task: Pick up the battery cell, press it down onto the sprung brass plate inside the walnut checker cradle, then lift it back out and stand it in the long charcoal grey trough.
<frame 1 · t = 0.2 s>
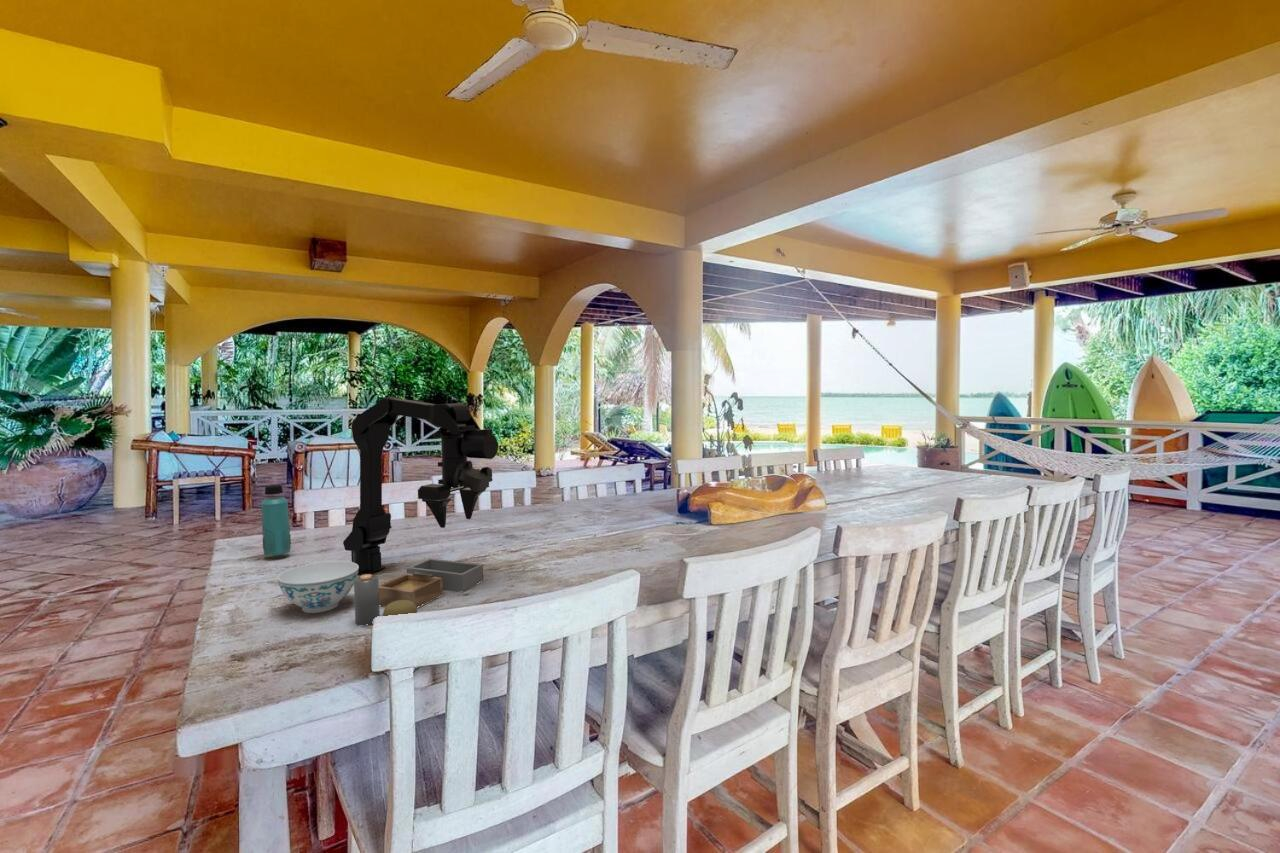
hand: (456, 523, 136), 15 cm above the table, tool pointing down, fingers open, 9 cm apart
cork: (401, 668, 96), on the table
battery cell: (367, 621, 115), on the table
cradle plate: (409, 589, 126), point 2 cm above the table, slide at 0.0 cm
checker cradle: (410, 600, 126), on the table
beverage bottle: (277, 558, 158), on the table
chinaware: (320, 607, 123), on the table
trough: (445, 582, 138), on the table
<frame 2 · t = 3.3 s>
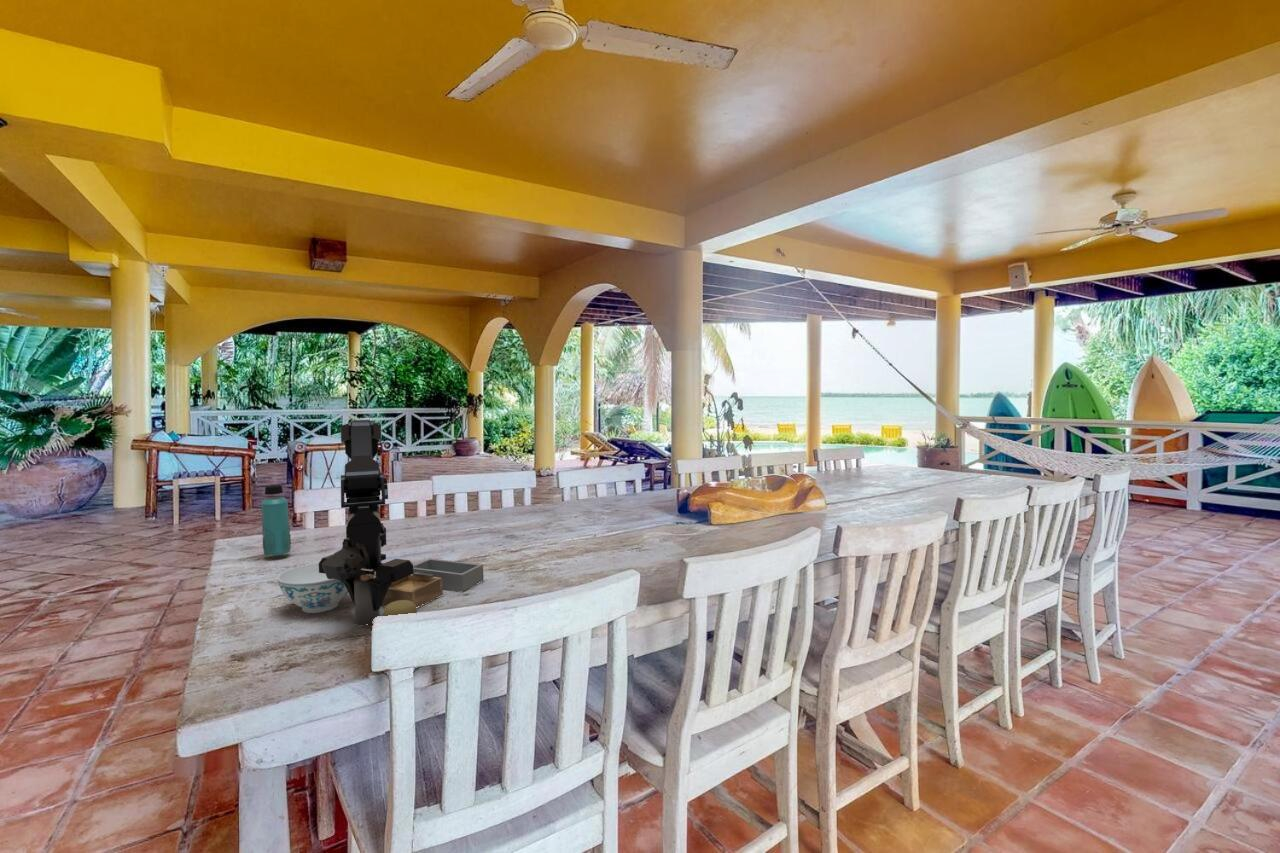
hand: (367, 608, 115), 3 cm above the table, tool pointing down, fingers closed on battery cell, 4 cm apart
battery cell: (367, 621, 115), on the table, touching gripper
everything else where it was.
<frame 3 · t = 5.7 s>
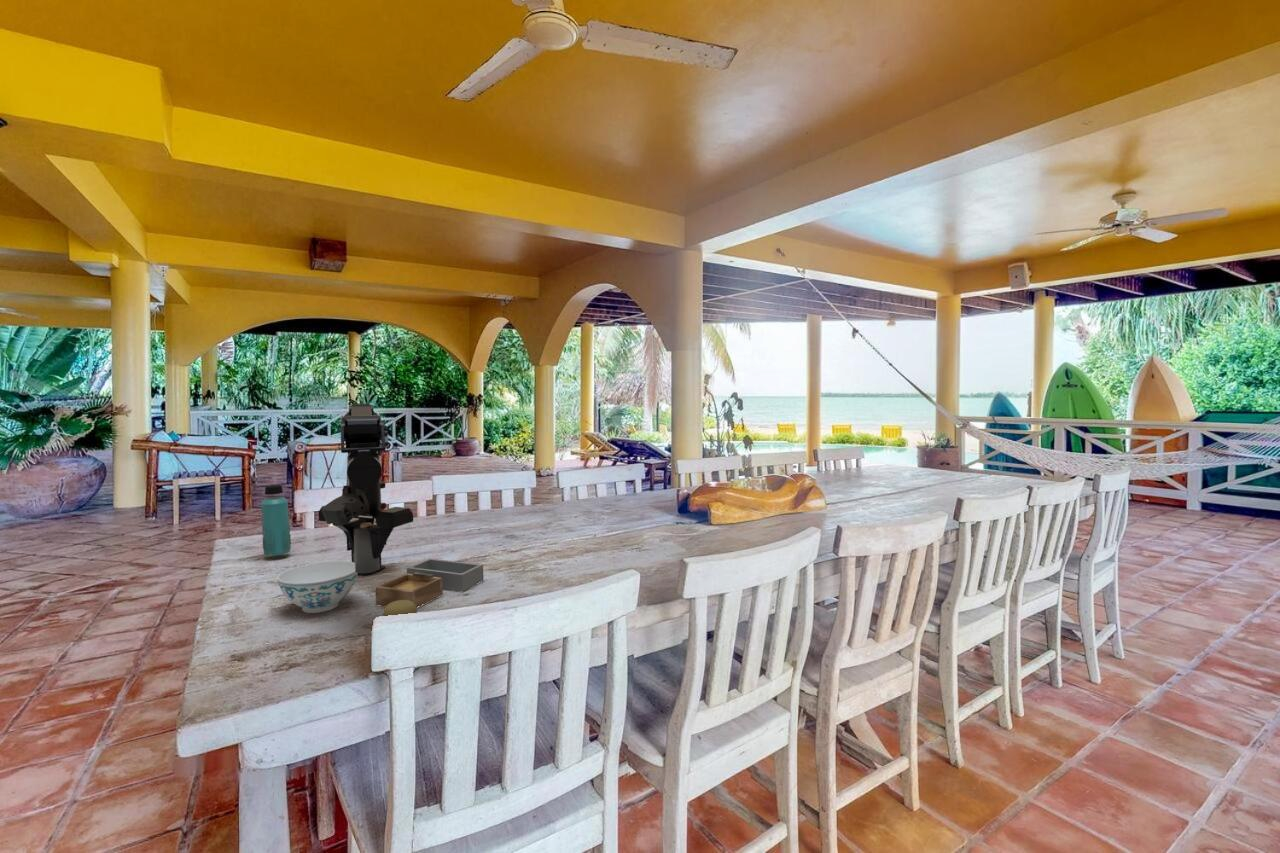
hand: (367, 557, 115), 13 cm above the table, tool pointing down, fingers closed on battery cell, 4 cm apart
battery cell: (367, 569, 115), point 10 cm above the table, touching gripper
everything else where it was.
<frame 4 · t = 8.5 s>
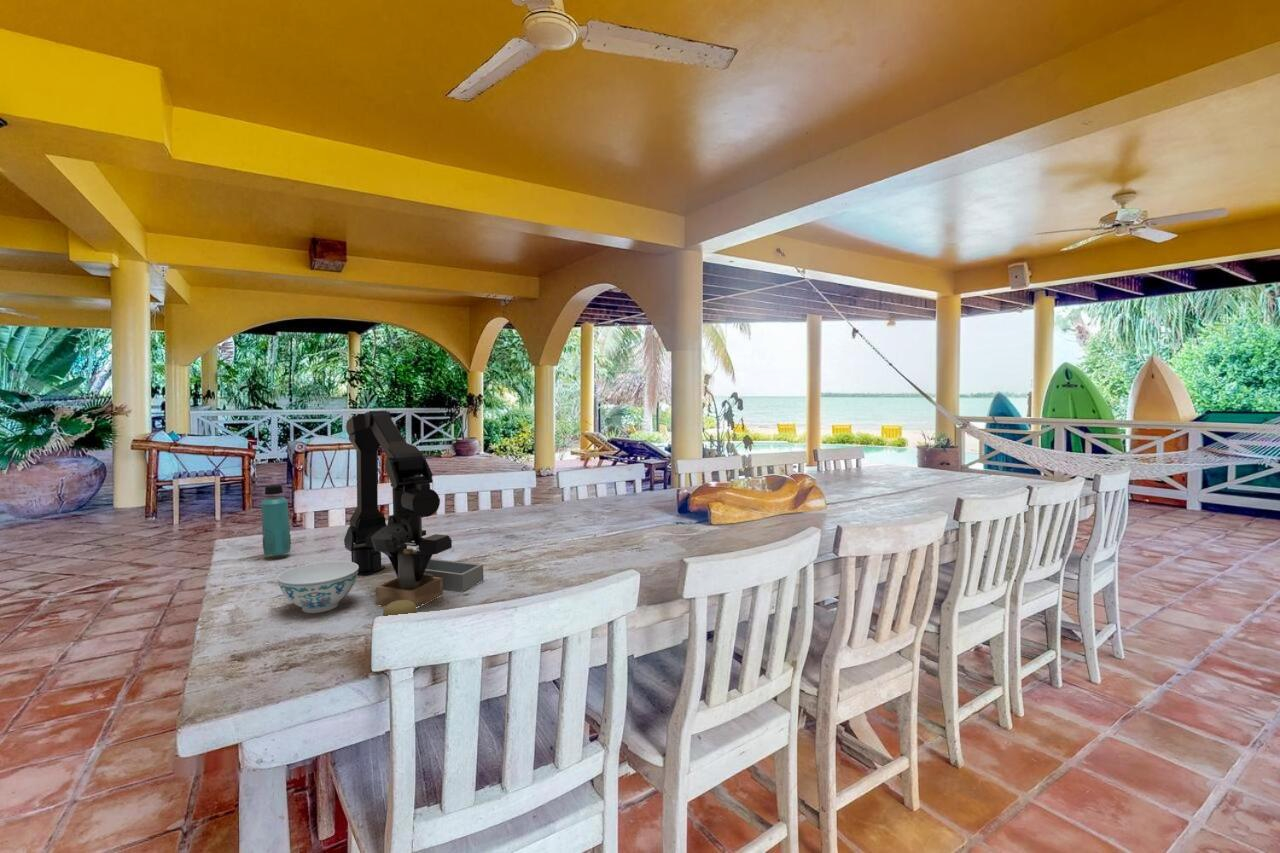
hand: (409, 579, 126), 5 cm above the table, tool pointing down, fingers closed on battery cell, 4 cm apart
battery cell: (409, 591, 126), point 2 cm above the table, touching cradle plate, gripper
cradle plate: (410, 593, 126), point 1 cm above the table, slide at -1.0 cm, touching battery cell
everything else where it was.
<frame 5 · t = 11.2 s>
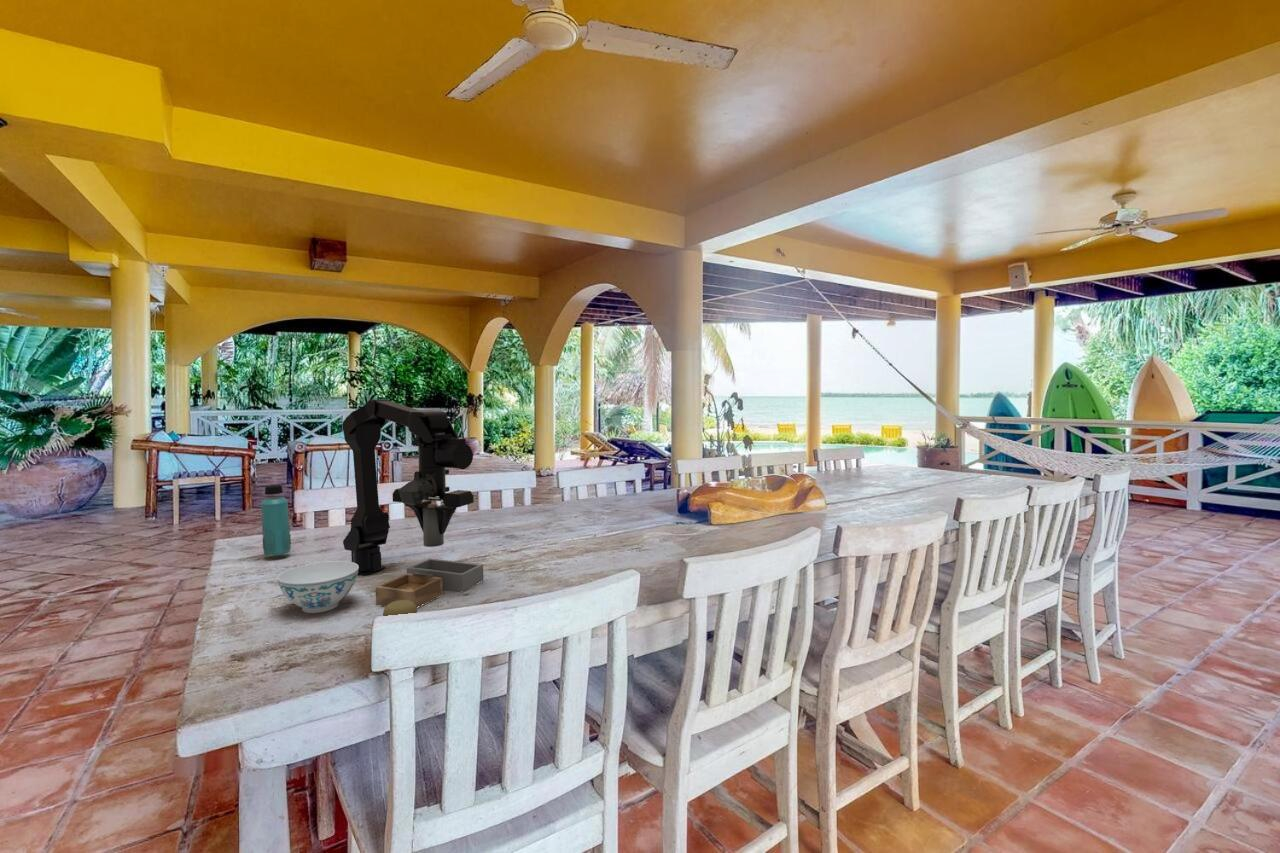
hand: (433, 533, 133), 13 cm above the table, tool pointing down, fingers closed on battery cell, 4 cm apart
battery cell: (433, 544, 133), point 10 cm above the table, touching gripper
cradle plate: (409, 592, 126), point 2 cm above the table, slide at -0.6 cm
everything else where it was.
when the fingers open (4 cm above the table, at t = 13.9 s): battery cell stays where it is, resting on trough.
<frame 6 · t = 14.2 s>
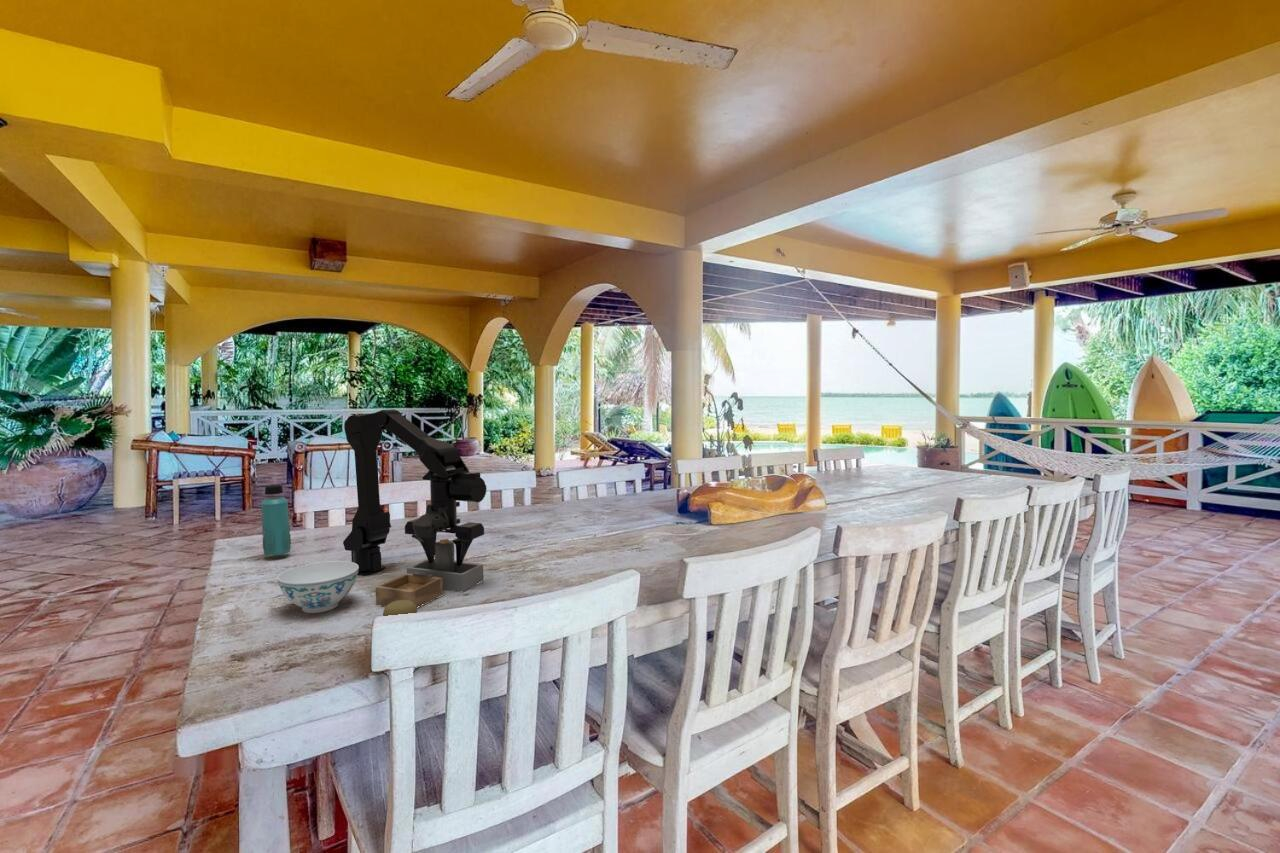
hand: (445, 564, 137), 4 cm above the table, tool pointing down, fingers open, 8 cm apart
battery cell: (445, 578, 137), point 1 cm above the table, touching trough
everything else where it was.
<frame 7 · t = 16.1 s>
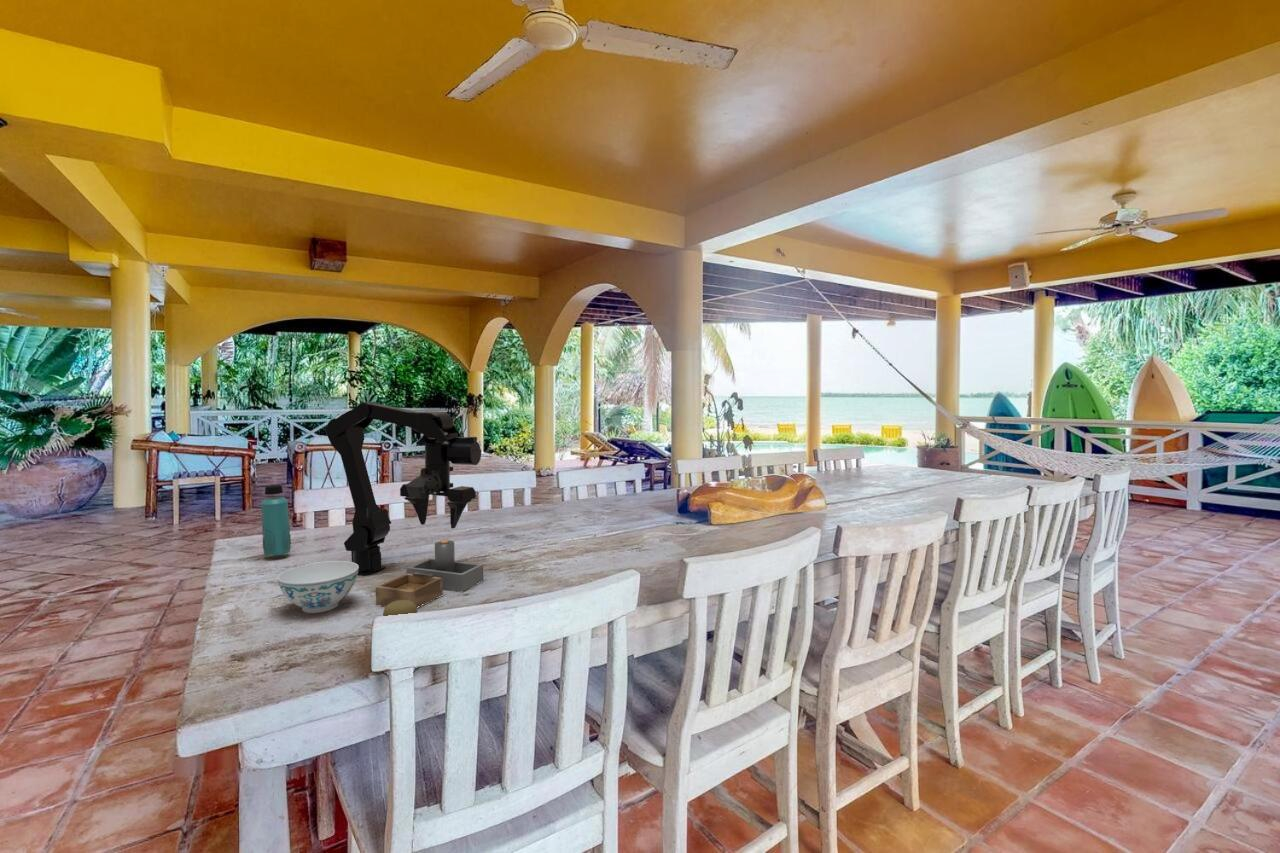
hand: (437, 526, 142), 12 cm above the table, tool pointing down, fingers open, 9 cm apart
nothing on the table moved.
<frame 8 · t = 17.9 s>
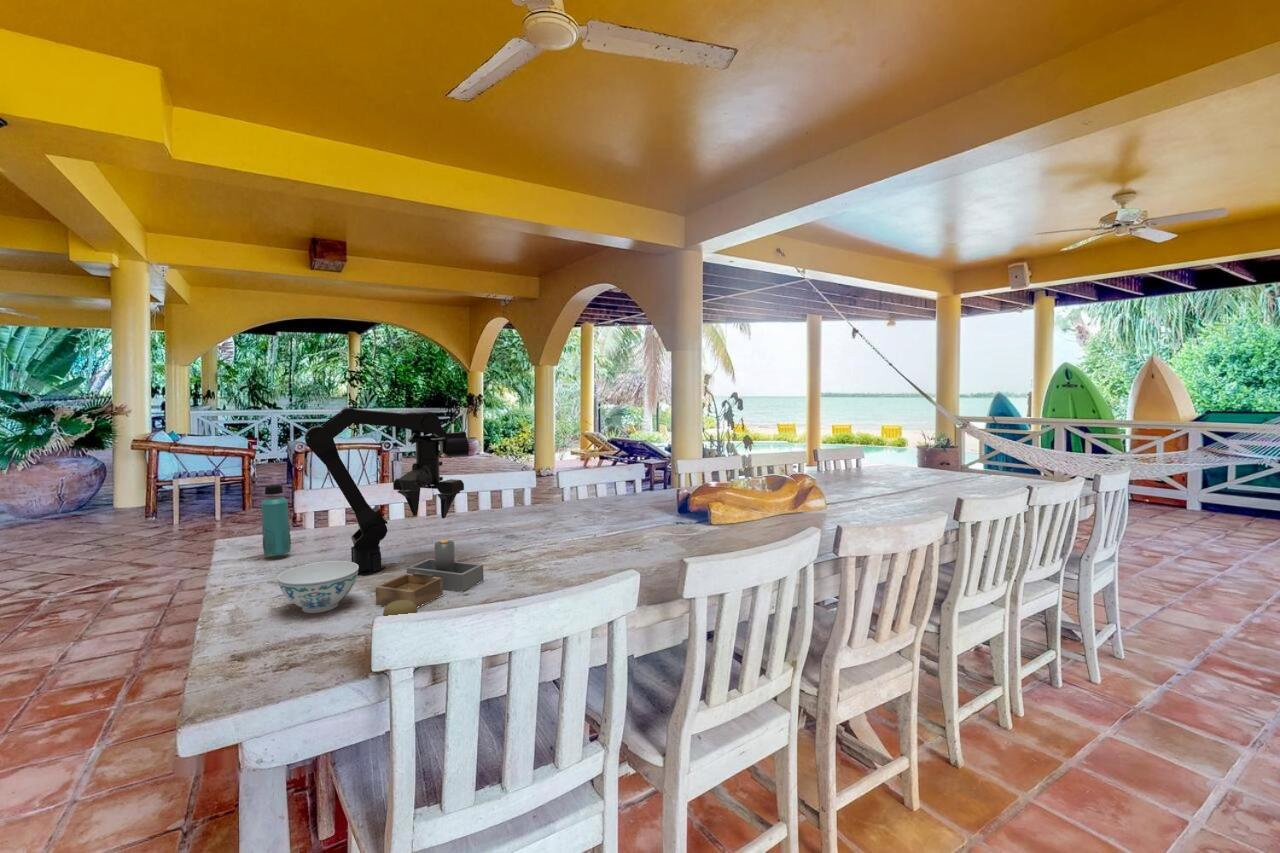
hand: (429, 516, 154), 12 cm above the table, tool pointing down, fingers open, 9 cm apart
nothing on the table moved.
at the end: battery cell inside the target area on the trough (0.1 cm from its centre), point 1.0 cm above the trough's base; battery cell tilted 0°; the gripper is holding nothing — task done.
